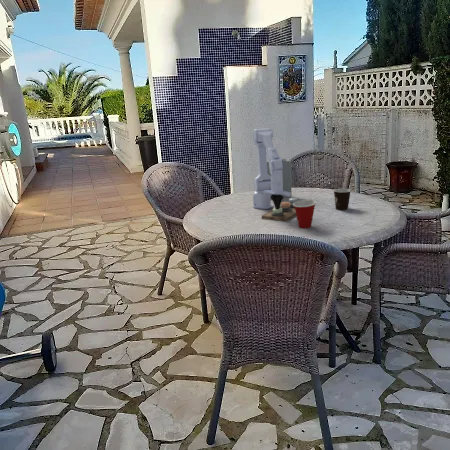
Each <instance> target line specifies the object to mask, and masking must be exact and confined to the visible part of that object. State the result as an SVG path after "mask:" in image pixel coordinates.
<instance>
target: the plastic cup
mask: <svg viewBox="0 0 450 450" xmlns="http://www.w3.org/2000/svg"><path fill="white" fill-rule="evenodd" d="M316 203H317V201H316V200H312V199H305V200H304V199H303V200H302V199H301V200H298V201H297V202H294V203H293V206H294V208H295V210H296V216H295V217H296V221H297V224H298V227H299V229H310V228H311V227H312V224H313V219H314V212H315V208H316Z"/></svg>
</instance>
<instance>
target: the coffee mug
mask: <svg viewBox="0 0 450 450" xmlns="http://www.w3.org/2000/svg"><path fill="white" fill-rule="evenodd" d="M351 192H352V191H351V189H348V188H337V189H334V190H333V195H334V204H335V205H334V207H335V210H337V211H348V209H349V204H350V197H351Z"/></svg>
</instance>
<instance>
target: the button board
mask: <svg viewBox="0 0 450 450" xmlns="http://www.w3.org/2000/svg"><path fill="white" fill-rule="evenodd" d="M280 208H282V213H280V214H274V213H273V209H272V210H270V211H268V212H266V213H264V214H262V215H261V219H264V220H271V221H272V220H273V221H281V222H287V221H290V220H291V219H293V218H294V217H297V216H296V210H295V208H294V206H293V204H291V203H290V207H287V208H284V207H281V205H280Z"/></svg>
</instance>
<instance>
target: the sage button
mask: <svg viewBox="0 0 450 450" xmlns="http://www.w3.org/2000/svg"><path fill="white" fill-rule="evenodd" d="M272 210H273V213H274V214H280V213H282V208H280V209H275V207H272Z"/></svg>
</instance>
